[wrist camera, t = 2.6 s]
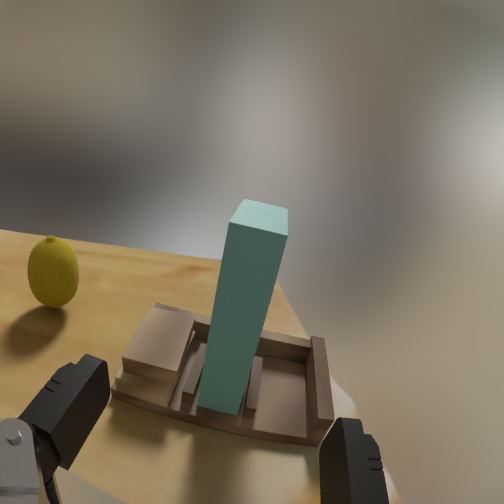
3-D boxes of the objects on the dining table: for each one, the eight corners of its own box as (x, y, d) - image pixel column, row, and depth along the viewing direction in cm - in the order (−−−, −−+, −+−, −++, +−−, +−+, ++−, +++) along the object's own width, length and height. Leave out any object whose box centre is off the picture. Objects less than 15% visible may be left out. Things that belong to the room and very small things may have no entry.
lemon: (85, 319, 28) (82, 245, 25) (35, 326, 25) (24, 250, 22) (75, 290, 32) (73, 224, 29) (31, 296, 28) (24, 227, 25)
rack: (111, 396, 21) (108, 364, 19) (154, 327, 30) (156, 298, 29) (317, 446, 20) (334, 419, 19) (312, 365, 30) (324, 338, 28)
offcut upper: (123, 371, 20) (122, 356, 20) (150, 320, 27) (151, 306, 26) (175, 385, 21) (176, 371, 20) (193, 330, 27) (195, 316, 27)
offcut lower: (116, 390, 20) (115, 377, 20) (152, 332, 28) (153, 319, 27) (166, 407, 20) (167, 394, 20) (193, 344, 28) (195, 331, 27)
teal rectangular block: (196, 405, 21) (229, 221, 16) (212, 356, 27) (244, 198, 22) (236, 415, 21) (287, 235, 16) (246, 364, 27) (287, 208, 22)
